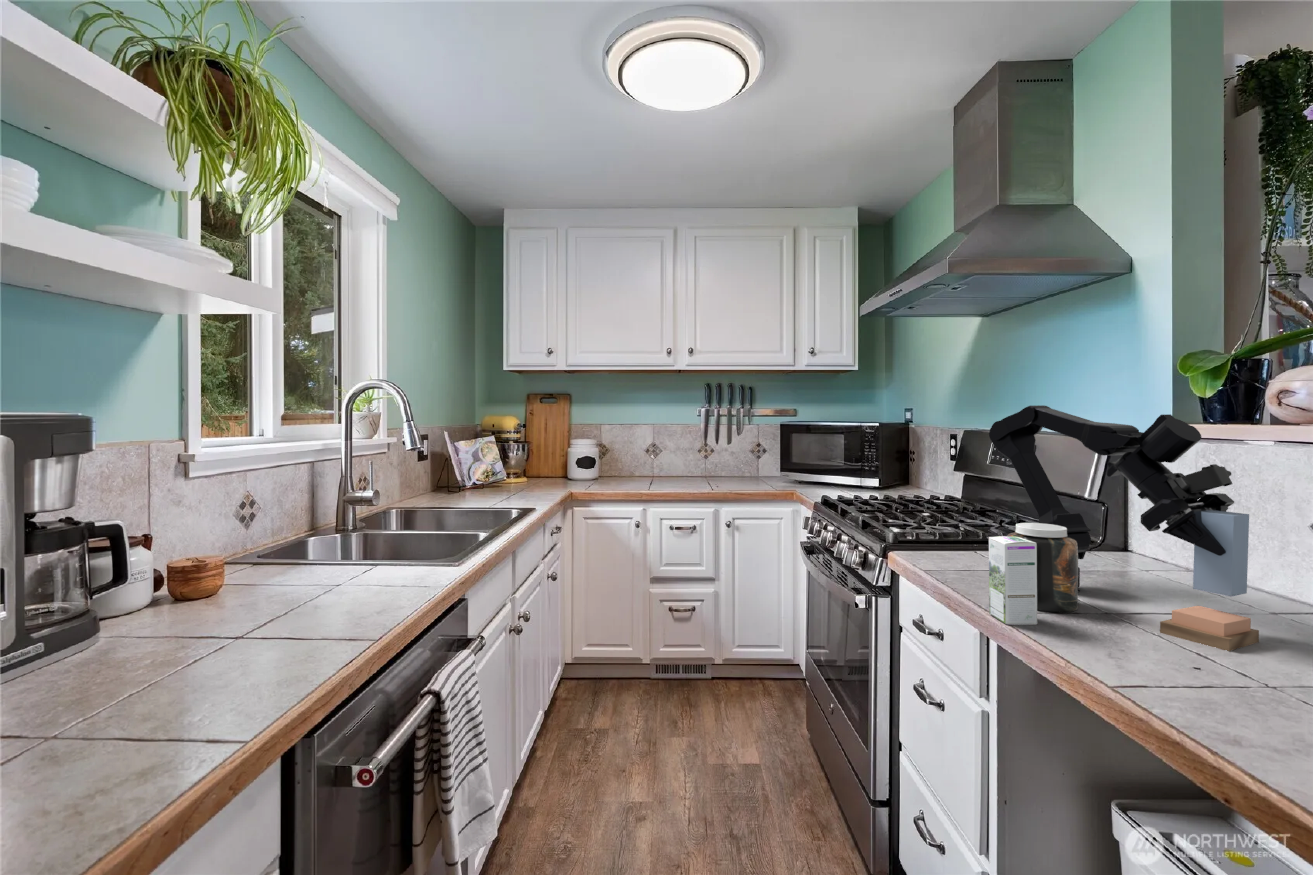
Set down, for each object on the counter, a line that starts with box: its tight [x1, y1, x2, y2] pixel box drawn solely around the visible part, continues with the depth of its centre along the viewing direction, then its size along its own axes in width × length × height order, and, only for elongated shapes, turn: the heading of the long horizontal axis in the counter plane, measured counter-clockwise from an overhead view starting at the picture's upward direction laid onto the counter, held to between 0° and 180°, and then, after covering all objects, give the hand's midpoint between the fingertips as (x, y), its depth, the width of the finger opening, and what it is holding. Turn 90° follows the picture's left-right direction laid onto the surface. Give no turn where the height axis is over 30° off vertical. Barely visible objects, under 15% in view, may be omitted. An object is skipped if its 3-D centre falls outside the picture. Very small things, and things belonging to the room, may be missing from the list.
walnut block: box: [1159, 618, 1260, 652], centre depth 98 cm, size 9×9×2 cm
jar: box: [1006, 522, 1079, 613], centre depth 117 cm, size 12×12×15 cm
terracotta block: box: [1171, 605, 1252, 636], centre depth 98 cm, size 7×7×2 cm
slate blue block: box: [1192, 510, 1250, 597], centre depth 100 cm, size 5×5×13 cm
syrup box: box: [988, 535, 1038, 626], centre depth 108 cm, size 6×6×14 cm
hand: (1231, 552), depth 99 cm, fingers closed on slate blue block, 5 cm apart
